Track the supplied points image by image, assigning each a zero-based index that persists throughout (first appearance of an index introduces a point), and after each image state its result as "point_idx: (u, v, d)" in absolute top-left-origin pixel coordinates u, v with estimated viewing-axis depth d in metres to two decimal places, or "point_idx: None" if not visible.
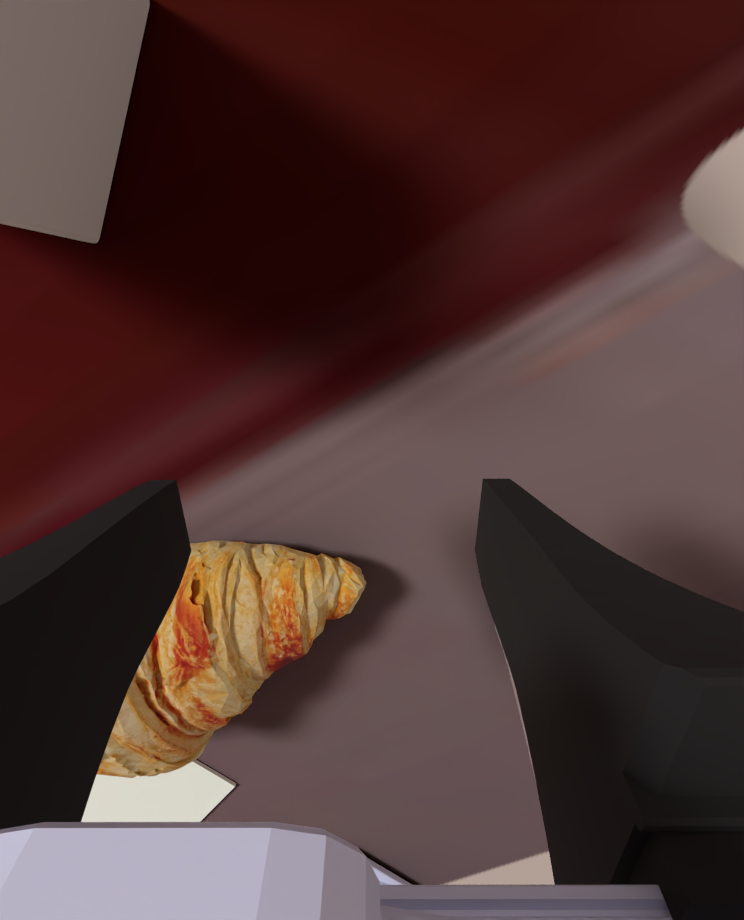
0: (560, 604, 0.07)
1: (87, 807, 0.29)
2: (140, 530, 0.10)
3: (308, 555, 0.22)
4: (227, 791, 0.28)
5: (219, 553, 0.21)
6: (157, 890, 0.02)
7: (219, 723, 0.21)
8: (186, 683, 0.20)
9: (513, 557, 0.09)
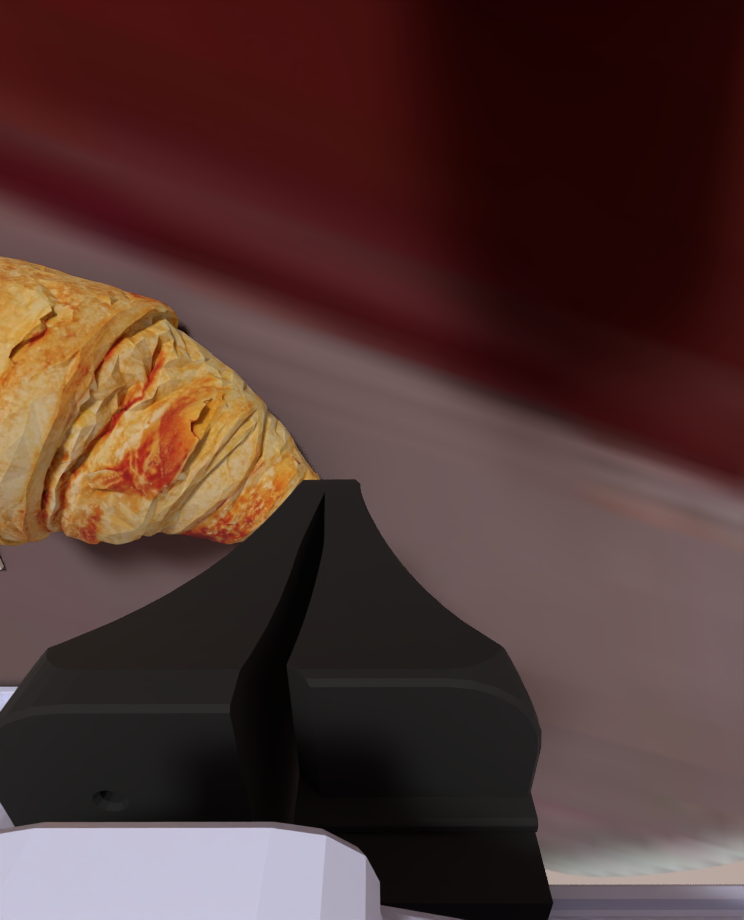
0: None
1: None
2: (318, 529, 0.10)
3: (309, 468, 0.19)
4: None
5: (243, 397, 0.17)
6: (156, 890, 0.02)
7: (89, 540, 0.17)
8: (106, 491, 0.15)
9: None
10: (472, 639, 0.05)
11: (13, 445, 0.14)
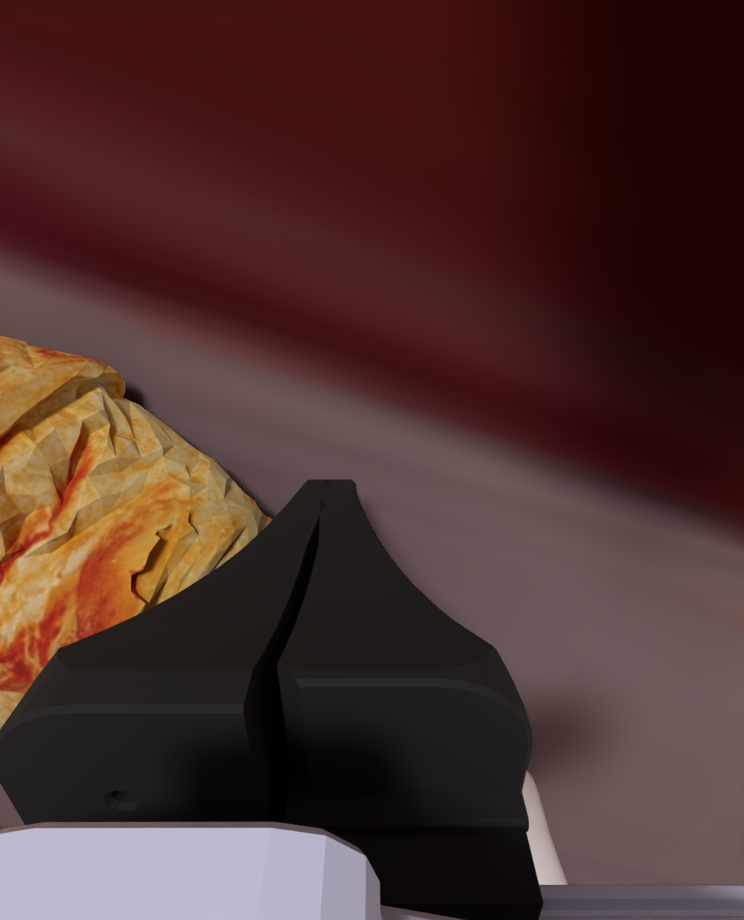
0: None
1: None
2: None
3: None
4: None
5: (223, 511, 0.11)
6: (157, 889, 0.02)
7: None
8: None
9: None
10: (464, 640, 0.05)
11: None
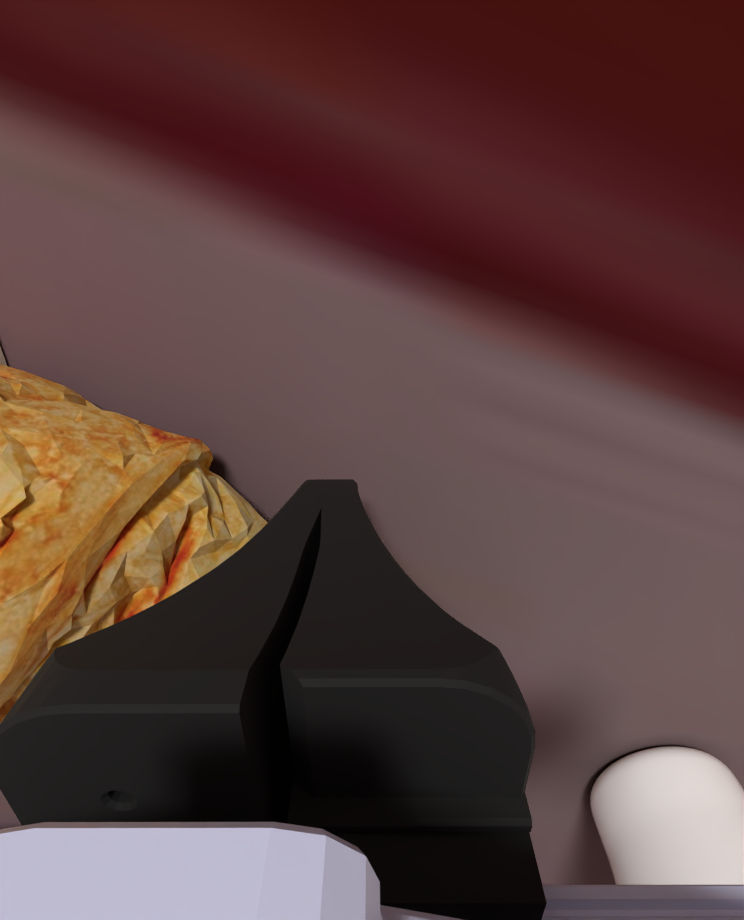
0: None
1: None
2: None
3: None
4: None
5: None
6: (157, 889, 0.02)
7: None
8: None
9: None
10: (466, 639, 0.05)
11: None
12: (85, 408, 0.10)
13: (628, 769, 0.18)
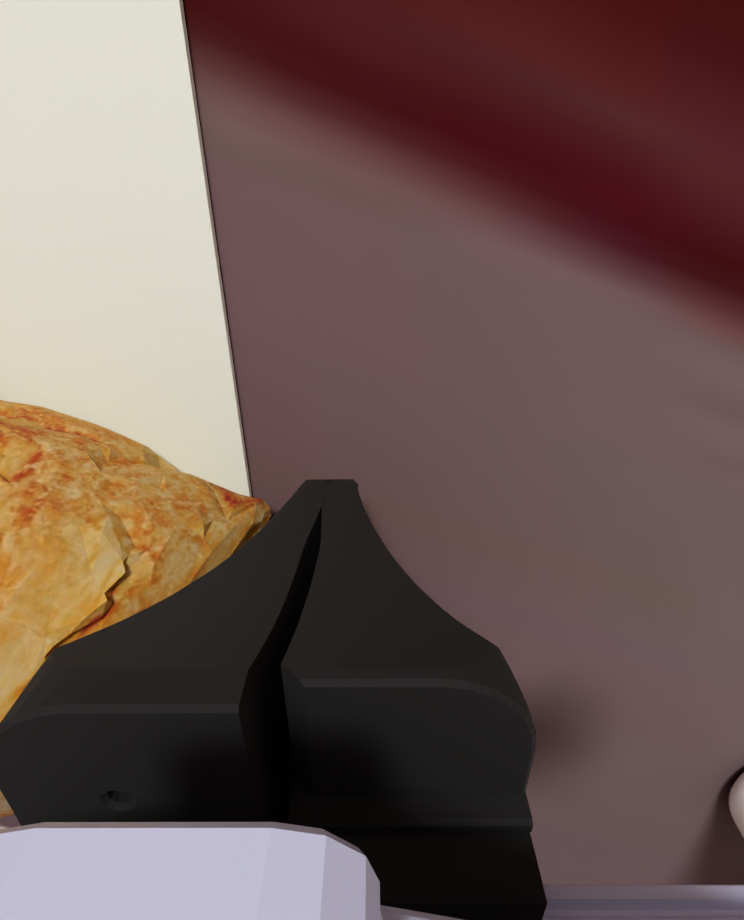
0: None
1: None
2: None
3: None
4: None
5: None
6: (157, 889, 0.02)
7: None
8: None
9: None
10: (467, 639, 0.05)
11: None
12: (166, 473, 0.11)
13: None
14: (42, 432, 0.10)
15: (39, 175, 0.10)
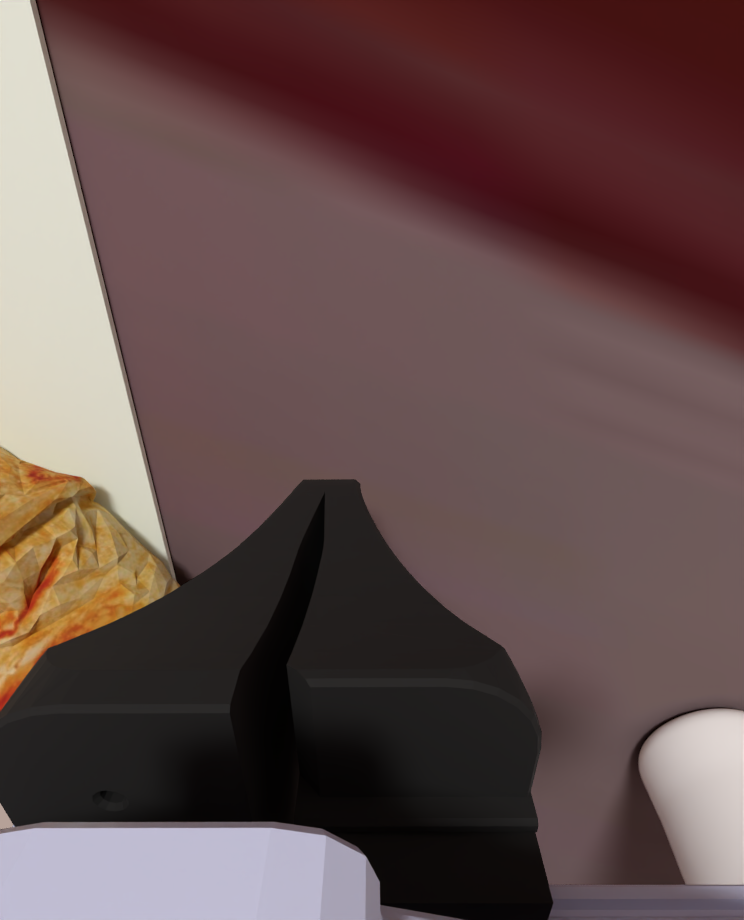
0: None
1: None
2: (318, 529, 0.10)
3: None
4: None
5: None
6: (156, 890, 0.02)
7: None
8: None
9: None
10: (472, 639, 0.05)
11: None
12: None
13: (679, 729, 0.18)
14: None
15: None
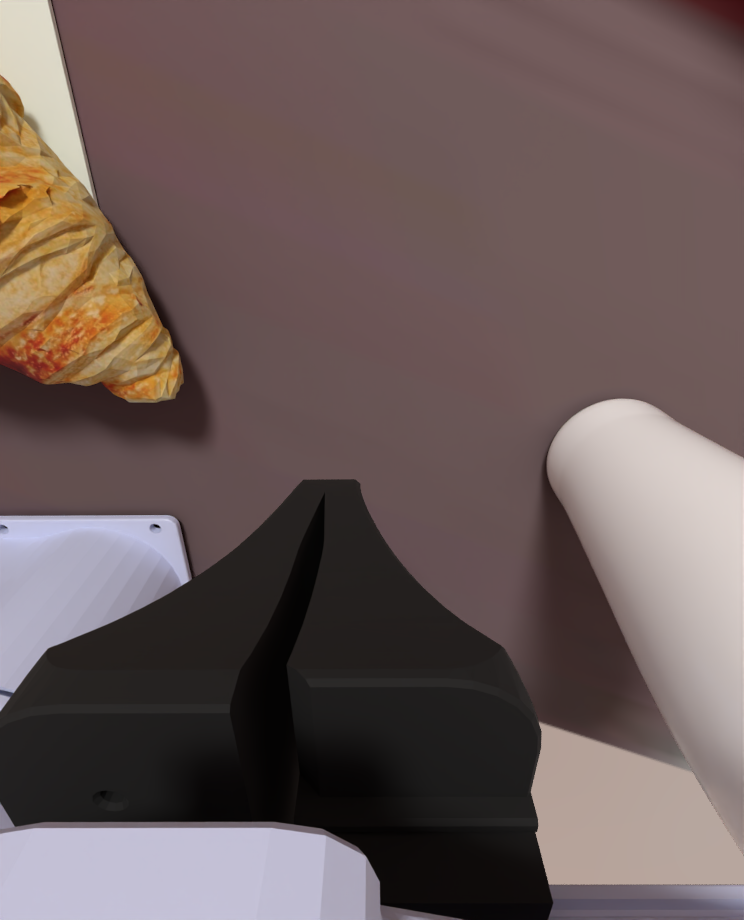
0: None
1: None
2: (318, 529, 0.10)
3: (155, 318, 0.17)
4: None
5: (78, 205, 0.15)
6: (156, 890, 0.02)
7: None
8: None
9: None
10: (472, 639, 0.05)
11: None
12: None
13: (577, 415, 0.20)
14: None
15: None
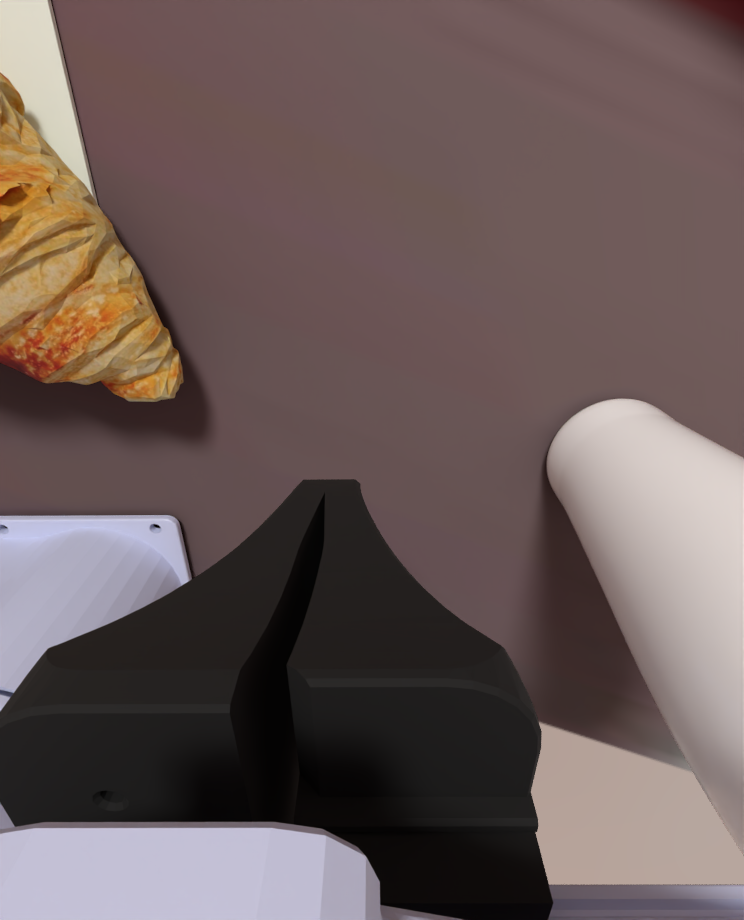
0: None
1: None
2: (318, 529, 0.10)
3: (156, 317, 0.17)
4: None
5: (78, 203, 0.15)
6: (156, 890, 0.02)
7: None
8: None
9: None
10: (472, 639, 0.05)
11: None
12: None
13: (577, 415, 0.20)
14: None
15: None
